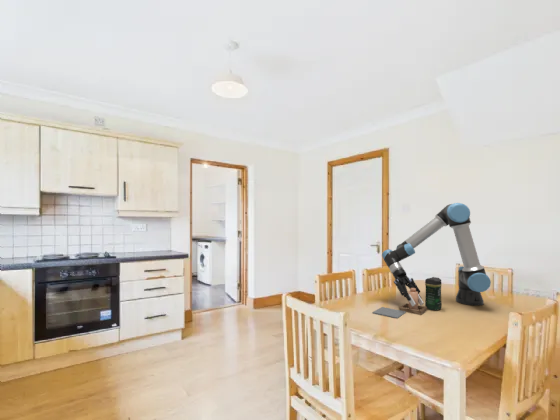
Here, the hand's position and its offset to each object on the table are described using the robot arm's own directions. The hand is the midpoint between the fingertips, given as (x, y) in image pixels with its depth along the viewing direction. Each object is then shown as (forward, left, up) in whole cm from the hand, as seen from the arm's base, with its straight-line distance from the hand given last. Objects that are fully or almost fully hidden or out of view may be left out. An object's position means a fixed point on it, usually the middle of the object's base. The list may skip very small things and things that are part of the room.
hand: (418, 304), depth 174 cm
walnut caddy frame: (+3, -2, -4) cm, 6 cm away
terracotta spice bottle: (+3, -2, -4) cm, 6 cm away
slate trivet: (+12, +12, -4) cm, 18 cm away
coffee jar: (-5, -14, -5) cm, 15 cm away
